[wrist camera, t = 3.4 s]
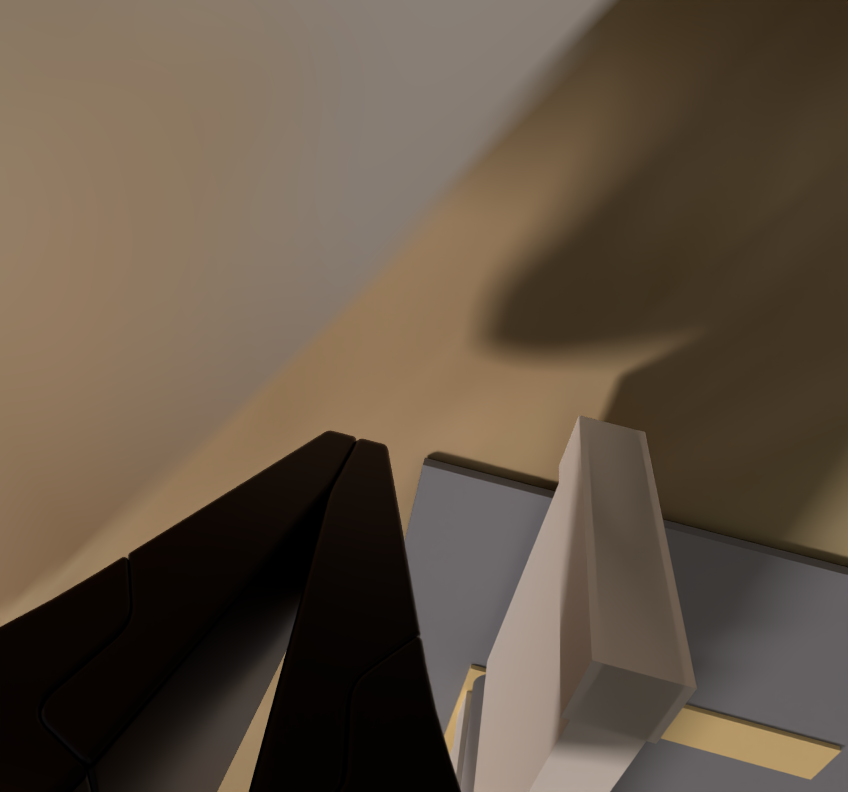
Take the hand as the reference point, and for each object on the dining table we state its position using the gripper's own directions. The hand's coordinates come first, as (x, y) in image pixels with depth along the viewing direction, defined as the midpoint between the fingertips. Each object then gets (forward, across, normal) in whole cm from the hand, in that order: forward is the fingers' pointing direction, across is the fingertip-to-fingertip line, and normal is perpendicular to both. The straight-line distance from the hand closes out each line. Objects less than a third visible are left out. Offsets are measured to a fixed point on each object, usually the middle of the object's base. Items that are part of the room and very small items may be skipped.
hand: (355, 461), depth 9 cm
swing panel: (+1, -3, +3) cm, 5 cm away
